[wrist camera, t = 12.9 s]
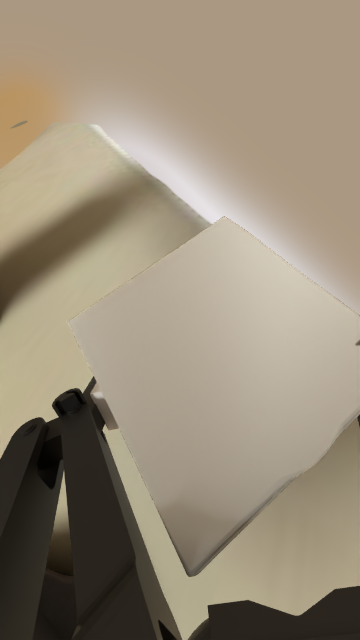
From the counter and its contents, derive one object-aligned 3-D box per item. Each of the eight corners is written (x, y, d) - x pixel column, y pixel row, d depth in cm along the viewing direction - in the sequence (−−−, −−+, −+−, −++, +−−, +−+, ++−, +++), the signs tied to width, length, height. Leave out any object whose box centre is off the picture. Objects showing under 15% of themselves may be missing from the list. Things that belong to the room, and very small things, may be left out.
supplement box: (212, 321, 22) (227, 206, 8) (267, 382, 19) (440, 356, 5) (153, 366, 21) (57, 316, 7) (200, 439, 18) (190, 607, 4)
